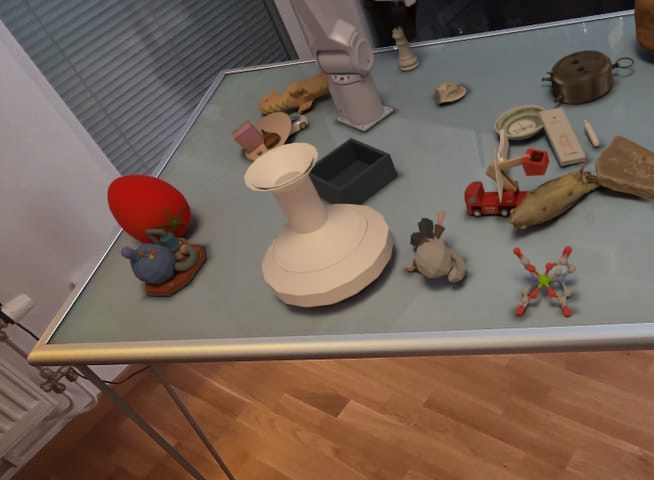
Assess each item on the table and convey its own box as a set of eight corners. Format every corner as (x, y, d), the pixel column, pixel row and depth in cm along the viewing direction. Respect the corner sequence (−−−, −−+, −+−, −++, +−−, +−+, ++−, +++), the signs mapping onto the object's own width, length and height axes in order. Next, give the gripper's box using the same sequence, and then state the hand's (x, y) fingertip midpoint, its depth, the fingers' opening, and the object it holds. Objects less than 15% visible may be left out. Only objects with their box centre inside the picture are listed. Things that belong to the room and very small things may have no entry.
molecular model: (523, 278, 85) (513, 237, 80) (580, 278, 83) (574, 235, 77) (513, 316, 81) (502, 276, 76) (573, 318, 79) (566, 276, 73)
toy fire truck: (471, 203, 98) (456, 150, 91) (555, 202, 94) (547, 147, 86) (466, 217, 96) (450, 164, 89) (551, 216, 92) (542, 161, 84)
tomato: (172, 186, 116) (219, 216, 111) (138, 235, 116) (183, 268, 110) (116, 148, 104) (164, 180, 99) (78, 204, 104) (124, 238, 99)
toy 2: (421, 188, 91) (442, 228, 79) (466, 213, 95) (493, 254, 83) (387, 247, 95) (402, 294, 83) (432, 268, 99) (453, 315, 87)
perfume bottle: (251, 171, 122) (234, 156, 118) (238, 138, 128) (222, 123, 124) (298, 134, 120) (282, 118, 116) (282, 102, 126) (267, 86, 122)
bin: (312, 193, 110) (302, 172, 107) (360, 158, 114) (350, 137, 111) (349, 213, 104) (339, 191, 101) (398, 176, 108) (389, 153, 104)
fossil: (433, 106, 119) (464, 113, 120) (436, 86, 116) (468, 93, 117) (433, 92, 124) (462, 98, 126) (436, 73, 122) (466, 80, 123)
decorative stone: (711, 169, 90) (618, 166, 99) (706, 131, 85) (609, 131, 94) (684, 214, 86) (589, 206, 95) (678, 176, 81) (579, 172, 90)
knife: (497, 121, 103) (503, 119, 102) (506, 147, 105) (511, 145, 105) (486, 173, 82) (494, 171, 81) (497, 203, 84) (504, 201, 84)
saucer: (529, 110, 111) (527, 97, 110) (561, 129, 106) (560, 116, 104) (485, 135, 110) (483, 122, 108) (516, 155, 104) (514, 142, 102)
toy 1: (261, 118, 137) (340, 78, 140) (272, 130, 128) (356, 87, 131) (248, 94, 133) (329, 54, 137) (258, 105, 124) (345, 62, 128)
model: (179, 297, 100) (143, 254, 93) (136, 295, 102) (97, 254, 95) (215, 246, 106) (184, 203, 99) (173, 246, 109) (140, 204, 102)
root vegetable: (520, 232, 84) (507, 247, 89) (620, 176, 92) (604, 192, 97) (499, 201, 85) (488, 218, 89) (601, 148, 92) (586, 165, 97)
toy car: (254, 147, 126) (248, 136, 124) (304, 119, 129) (299, 108, 127) (260, 153, 124) (254, 142, 122) (311, 125, 127) (305, 113, 125)
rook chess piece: (416, 71, 131) (405, 33, 125) (397, 73, 133) (385, 36, 126) (422, 60, 134) (411, 22, 128) (403, 62, 135) (391, 25, 129)
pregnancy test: (561, 167, 98) (561, 161, 97) (538, 116, 104) (539, 110, 103) (605, 157, 99) (606, 152, 98) (580, 108, 105) (581, 102, 104)
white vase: (274, 336, 89) (199, 234, 74) (280, 249, 102) (217, 148, 87) (405, 298, 88) (356, 187, 73) (395, 215, 101) (350, 107, 86)
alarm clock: (556, 113, 109) (644, 87, 109) (554, 84, 105) (645, 57, 105) (540, 85, 116) (622, 61, 116) (537, 57, 112) (622, 32, 112)
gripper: (417, -41, 115) (437, 32, 126) (371, -47, 123) (393, 22, 134) (390, -24, 113) (412, 49, 123) (344, -32, 121) (369, 38, 131)
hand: (400, 36), depth 128 cm, fingers open, 7 cm apart
